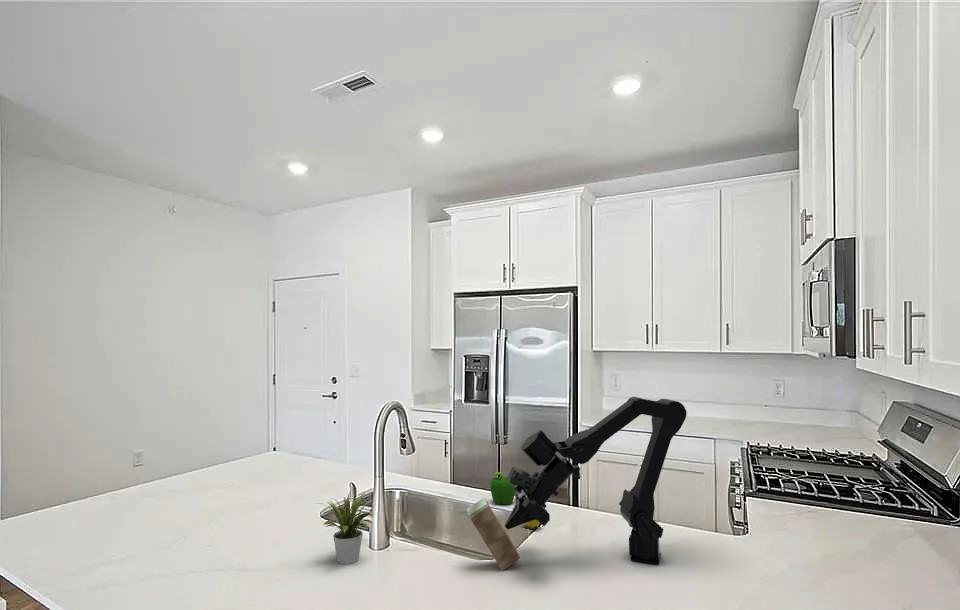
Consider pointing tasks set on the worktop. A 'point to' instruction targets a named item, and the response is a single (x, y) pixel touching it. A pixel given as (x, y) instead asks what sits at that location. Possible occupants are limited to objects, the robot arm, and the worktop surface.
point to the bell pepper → (502, 490)
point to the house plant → (348, 530)
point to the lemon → (532, 523)
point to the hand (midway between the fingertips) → (506, 527)
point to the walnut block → (493, 534)
